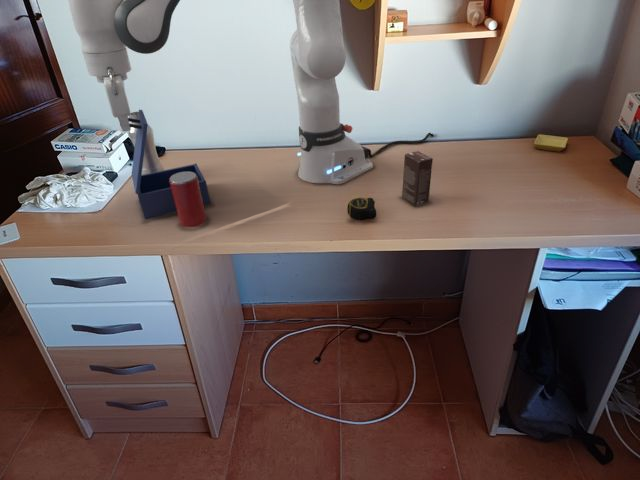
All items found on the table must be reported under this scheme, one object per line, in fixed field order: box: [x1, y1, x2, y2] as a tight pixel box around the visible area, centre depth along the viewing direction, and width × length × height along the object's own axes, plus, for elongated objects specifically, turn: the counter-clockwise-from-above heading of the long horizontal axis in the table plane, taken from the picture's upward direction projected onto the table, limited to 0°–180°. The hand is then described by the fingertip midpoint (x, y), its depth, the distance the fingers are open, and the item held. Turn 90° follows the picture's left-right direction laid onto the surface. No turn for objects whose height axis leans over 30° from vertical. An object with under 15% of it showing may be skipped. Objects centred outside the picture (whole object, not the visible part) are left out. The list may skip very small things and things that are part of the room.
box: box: [401, 150, 434, 207], centre depth 111 cm, size 6×4×12 cm
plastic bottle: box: [128, 111, 165, 175], centre depth 128 cm, size 6×7×20 cm
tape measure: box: [346, 197, 377, 222], centre depth 108 cm, size 7×7×4 cm
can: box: [169, 171, 207, 228], centre depth 107 cm, size 6×6×12 cm
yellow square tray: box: [533, 133, 569, 152], centre depth 138 cm, size 9×9×2 cm
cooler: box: [137, 163, 211, 220], centre depth 118 cm, size 17×13×7 cm
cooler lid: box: [119, 109, 149, 195], centre depth 108 cm, size 17×13×5 cm
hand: (125, 125), depth 105 cm, fingers closed on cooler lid, 6 cm apart
